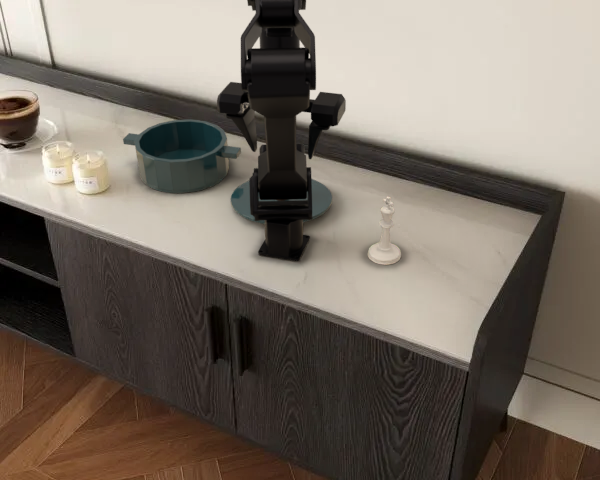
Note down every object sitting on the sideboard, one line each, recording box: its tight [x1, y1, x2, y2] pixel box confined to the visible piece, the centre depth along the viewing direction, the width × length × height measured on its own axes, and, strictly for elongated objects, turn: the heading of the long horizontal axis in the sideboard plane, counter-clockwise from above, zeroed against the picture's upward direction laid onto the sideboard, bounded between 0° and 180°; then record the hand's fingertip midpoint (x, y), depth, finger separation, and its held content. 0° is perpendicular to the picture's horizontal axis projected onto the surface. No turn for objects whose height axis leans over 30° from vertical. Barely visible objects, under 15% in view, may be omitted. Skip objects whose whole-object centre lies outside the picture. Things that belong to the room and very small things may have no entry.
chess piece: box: [367, 195, 402, 266], centre depth 111 cm, size 5×5×10 cm
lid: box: [230, 178, 333, 225], centre depth 123 cm, size 17×17×5 cm
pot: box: [122, 119, 242, 194], centre depth 133 cm, size 16×21×6 cm
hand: (282, 154), depth 120 cm, fingers open, 9 cm apart
